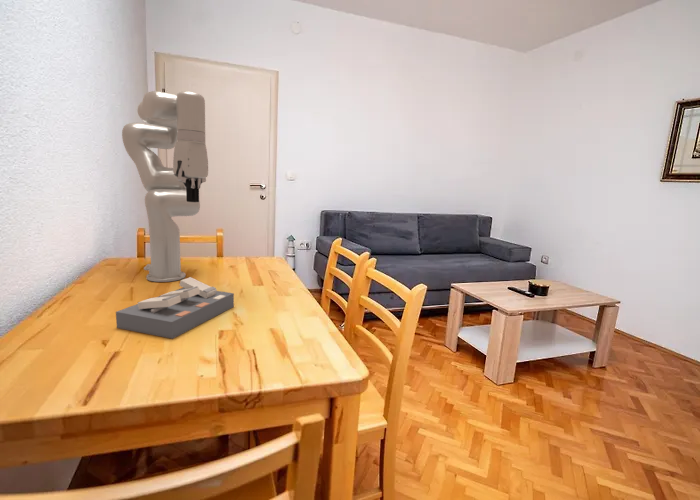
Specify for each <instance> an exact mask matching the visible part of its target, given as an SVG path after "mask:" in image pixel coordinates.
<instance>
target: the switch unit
mask: <svg viewBox="0 0 700 500" xmlns="http://www.w3.org/2000/svg"><path fill="white" fill-rule="evenodd" d="M184 289H185V288H183V287H181V288H178V289H176V290H174V291H178V290H184ZM234 296H235V293H234V292H227V291H221V290H216V294H215V295H213V296H211V297H208V298H204V297H202V296H200V295H198V294H197V295H194V296H192V297H189V298H182V299H181V302H179V303H177V304H174V305H172V306H169V307H159V308H146V309H139V307H138V303H137V304H134V305H131V306H128V307H125V308H123V309H120V310H117V311H115V318H116V319H115V320H116V329H120V330H121V329H122V330H127V331H131V332H135V333H141V334H147V335H151V336H152V335H153V336H157V337H162V338H167V339H172V340H173V339H175V338H177V337H179V336H180V335H182V334H184V333H186V332H188V331H191V330H192V329H194V328H196V327H197V326H200V325H202V324H205V322H208V321H209V320H211V319H213V318H215V317H216V316H218V315H221V314H222V313H225V312H227V311H228V310H230V309H232V308H234V306H235V301H234V299H235V297H234ZM158 297H160V295H159V296H158Z"/></svg>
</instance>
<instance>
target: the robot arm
mask: <svg viewBox="0 0 700 500" xmlns="http://www.w3.org/2000/svg"><path fill="white" fill-rule="evenodd" d="M137 114H138V116H139V118H140V119H141V120H142V121H143V122H129V123H126V124H125V125H124V126H123V128H122V131H121V139H122V142H123V143H122V144H123V146H124V149H125V151H126V152H127V155H128V156H129V157H130V159H131V160H132V161H133V163H134V164H135V167H136V169H137V172H138V174H139V177H140V180H141V183H142V185H143V188H144V189H145V190H146V191H147V192H146V194H145V196H144V205H145V209H146V210H145V211H146V213H147V219H148V220H147V221H148V229H149V231H148V232H149V233H148V234H149V249H150V250H149V251H150V253H149V254H150V263H148V264H146V265H145V266H144V267H143V270H144V271H148V273H147V275H146V280H147V281H150V282H155V283H163V282H164V283H168V282H169V283H170V282H175V281H181V280H183V279H186V273H185V272H184V271H182V270H181V269H182V266H181V265H182V264H181V263H182V262H181V241H180V239H181V236H180V235H181V234H180V228H179V226H178V224H177V223H176V222H175V221H174V220H173V218H174V217H192V216H195V215H197V214H199V212H200V208H201V201H200V189H201V185H202V184H203V183H206V181H207V178H208V176H209V160H208V159H209V158H208V151H207V146H206V100H205V97H204V96H203V95H202V94H200V93H197V92H193V91H179V92H178V93H177V94H174V93H170V92H165V91H158V90H152V91H151V90H150V91H147V92H145V93H144V95H143V99H142V101H141V102H139V104H138V106H137ZM151 149H159V150H161V149H162V150H172V149H174V150H173V156H172V157H173V160H172V161H173V162H172V164H173V165H172V167H167V166H164V165H163V162H162V159H161V158H160V157H159V155H157V154H156V153H155V152H154V151H153V150H151Z"/></svg>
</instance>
